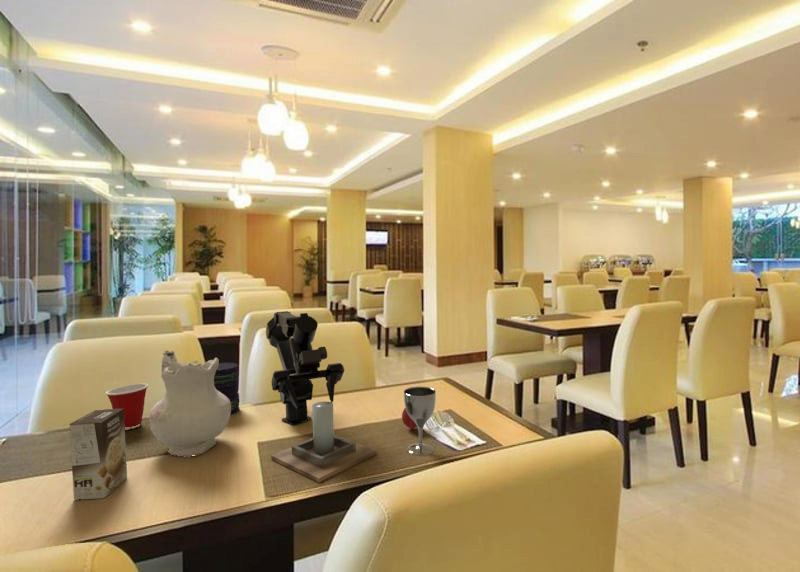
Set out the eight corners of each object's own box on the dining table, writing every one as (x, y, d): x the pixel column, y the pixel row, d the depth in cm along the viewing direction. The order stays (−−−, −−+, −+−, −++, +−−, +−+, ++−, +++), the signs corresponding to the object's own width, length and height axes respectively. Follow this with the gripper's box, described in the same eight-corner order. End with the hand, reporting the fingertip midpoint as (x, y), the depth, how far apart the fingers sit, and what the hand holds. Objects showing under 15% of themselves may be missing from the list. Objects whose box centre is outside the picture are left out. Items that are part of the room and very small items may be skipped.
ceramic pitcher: (128, 459, 114) (115, 364, 110) (188, 425, 132) (179, 343, 128) (195, 472, 106) (184, 370, 103) (249, 434, 125) (241, 347, 121)
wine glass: (439, 444, 116) (439, 387, 115) (431, 458, 109) (430, 397, 108) (410, 441, 119) (409, 385, 118) (400, 454, 111) (399, 394, 110)
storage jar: (245, 407, 148) (244, 362, 147) (228, 418, 139) (226, 370, 138) (218, 406, 150) (216, 362, 149) (200, 416, 141) (197, 369, 140)
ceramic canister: (310, 456, 109) (308, 407, 108) (318, 447, 114) (317, 400, 113) (329, 458, 108) (328, 408, 107) (337, 449, 112) (336, 402, 112)
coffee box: (105, 498, 93) (100, 422, 92) (72, 500, 92) (67, 424, 91) (128, 477, 102) (124, 407, 101) (98, 478, 102) (94, 409, 101)
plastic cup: (135, 418, 140) (133, 380, 139) (158, 423, 135) (156, 384, 135) (99, 430, 130) (96, 390, 130) (122, 436, 126) (120, 394, 125)
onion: (420, 433, 124) (420, 405, 123) (400, 432, 125) (399, 404, 124) (424, 426, 129) (423, 398, 129) (404, 424, 131) (403, 397, 130)
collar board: (271, 459, 110) (271, 447, 109) (328, 436, 123) (328, 425, 123) (318, 482, 98) (318, 469, 98) (376, 454, 112) (375, 442, 111)
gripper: (271, 340, 115) (282, 394, 106) (341, 333, 124) (356, 383, 115) (267, 364, 123) (277, 416, 114) (333, 356, 131) (346, 404, 122)
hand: (315, 404), depth 116 cm, fingers open, 9 cm apart
